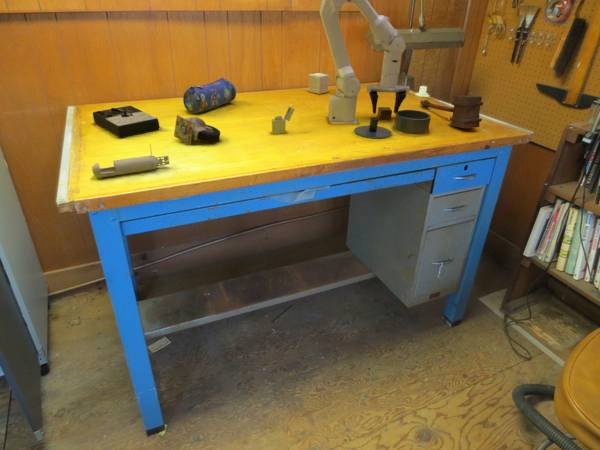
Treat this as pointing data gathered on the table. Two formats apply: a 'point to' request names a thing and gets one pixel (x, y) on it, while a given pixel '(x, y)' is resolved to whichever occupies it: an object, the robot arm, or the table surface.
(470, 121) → the hammer
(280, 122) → the lighter
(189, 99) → the pencil case
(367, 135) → the lid
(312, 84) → the product box
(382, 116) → the block
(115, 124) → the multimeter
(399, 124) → the tin
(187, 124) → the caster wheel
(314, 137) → the table surface
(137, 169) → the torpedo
